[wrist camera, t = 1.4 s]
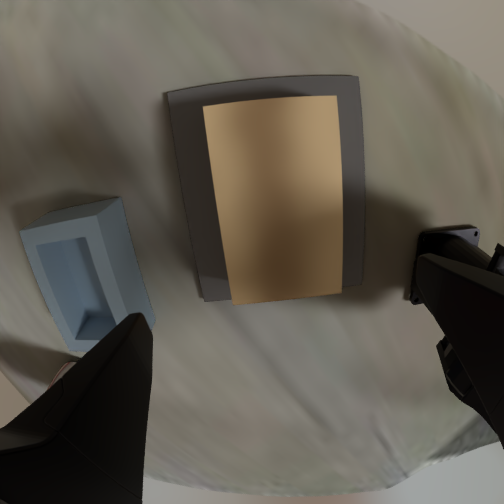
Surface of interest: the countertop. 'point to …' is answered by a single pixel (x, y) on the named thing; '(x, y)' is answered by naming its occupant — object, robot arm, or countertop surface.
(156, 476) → the countertop surface
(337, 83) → the mat
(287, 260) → the board
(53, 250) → the dish
